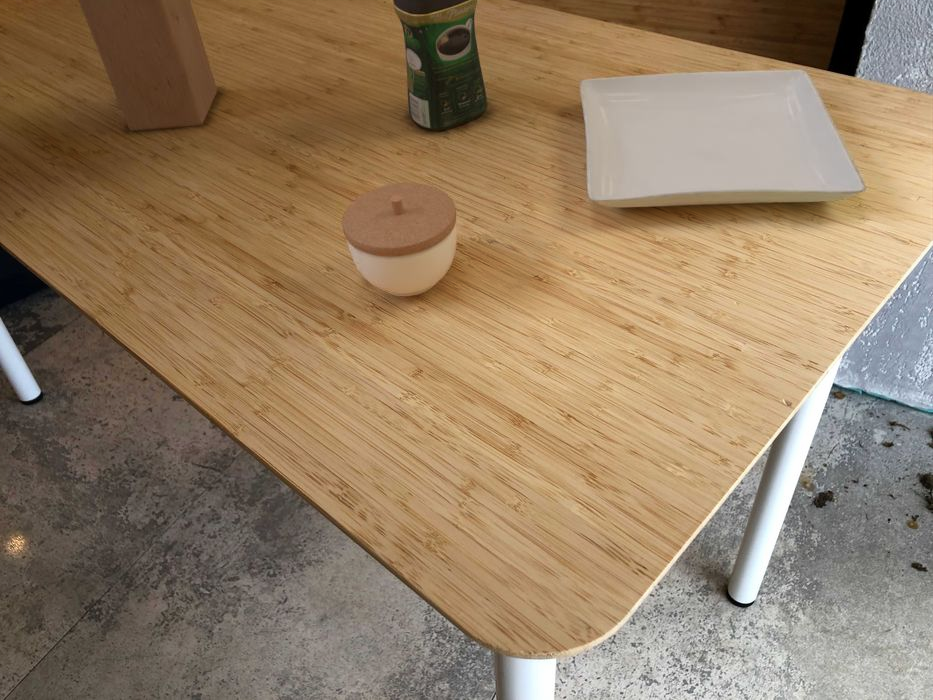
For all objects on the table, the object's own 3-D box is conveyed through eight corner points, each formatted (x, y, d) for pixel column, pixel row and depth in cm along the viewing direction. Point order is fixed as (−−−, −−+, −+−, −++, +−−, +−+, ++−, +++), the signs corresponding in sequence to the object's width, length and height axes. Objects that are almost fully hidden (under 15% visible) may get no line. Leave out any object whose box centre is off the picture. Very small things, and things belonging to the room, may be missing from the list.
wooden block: (203, 127, 112) (152, -30, 98) (129, 133, 112) (67, -23, 98) (218, 91, 119) (173, -59, 105) (149, 97, 119) (94, -52, 106)
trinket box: (387, 328, 79) (371, 247, 73) (338, 272, 86) (319, 194, 80) (483, 284, 83) (476, 203, 76) (428, 233, 90) (417, 155, 83)
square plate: (862, 220, 85) (871, 187, 82) (587, 229, 88) (587, 197, 85) (802, 93, 105) (808, 62, 102) (578, 103, 107) (578, 74, 105)
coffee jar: (464, 92, 112) (450, -55, 100) (496, 115, 107) (487, -38, 94) (400, 116, 109) (378, -34, 96) (430, 140, 104) (411, -14, 91)
